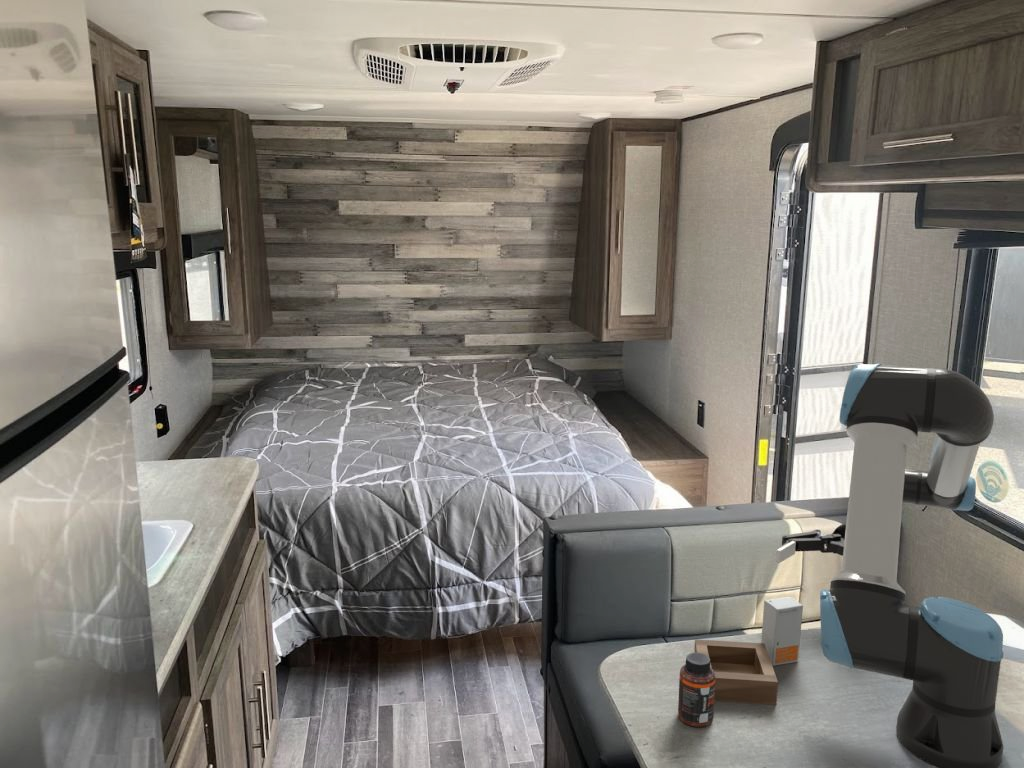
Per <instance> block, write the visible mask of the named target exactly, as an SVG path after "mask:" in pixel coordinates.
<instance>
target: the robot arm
mask: <svg viewBox="0 0 1024 768" xmlns="http://www.w3.org/2000/svg"><path fill="white" fill-rule="evenodd" d="M839 411H840V412H839V423H840V425H841V424H842V425H843V426H845V427H846V435H847V436H848V437H849V438H850V440H852V441H853V443H854V445H853V455H852V464H851V473H850V474H851V475H850V485H849V493H848V494H849V495H848V501H847V502H848V504H847V515H846V521H845V522H844V523H842V524H840V525H838V526H836V528H835V529H834V531H833V532H832V533H829V534H826V535H825V534H823V533H822V532H821V529H814V530H812V531H805V532H800V533H799V532H798V533H793V534H785V535H782V536H781V545H780V547H779V548H778V549H776V554H775V555H776V558H775V563H778V564H781V563H782V562H784V561H786V560H787V559H789V558H791V557H792V556H794V555H795V554H796V552H821V554H826V553H827V554H829V553H830V554H831V553H832V554H837V555H839V556H842V562H841V571H840V573H838V574H837V575H836V576H833V578H832V579H831V580H830V585H829V589H828V588H824V589H821V590H820V592H819V595H820V603H819V608H820V609H819V613H820V615H819V616H820V617H819V619H820V638H821V639H820V640H821V649H822V653H823V656H824V658H826V660H828V661H829V662H832V663H835V664H838V665H841V666H842V665H843V666H846V667H849V668H850V669H859V670H863V671H868V672H873V673H876V674H877V673H878V674H882V675H887V676H891V677H896V678H899V679H900V678H901V679H905V680H911V681H912V688H911V691H910V692H909V694H908V696H907V698H906V699H905V701H904V703H903V705H902V707H901V709H900V711H899V713H898V714H897V718H896V726H895V731H896V732H895V733H896V735H897V738H898V740H899V741H900V744H901V745H903V746H904V747H905V748H906V749H907V751H909V752H910V753H911V754H912V755H914V756H915V757H917V758H918V759H920V760H922V761H924V762H926V763H928V764H930V765H933V766H934V767H937V768H999V766H1001V764H1002V761H1003V754H1004V744H1003V743H1004V741H1003V739H1002V735H1001V732H1000V728H999V723H998V720H997V716H996V711H995V710H996V704H997V703H996V702H997V694H998V686H999V679H1000V670H1001V664H1002V663H1001V662H1002V661H1003V658H1004V652H1003V646H1004V645H1003V644H1004V633H1003V631H1002V628H1001V626H1000V624H999V623H998V622H997V621H996V620H995V619H994V618H993V617H992V616H991V615H990V614H988V613H986V612H984V611H983V610H982V609H980V608H978V607H977V606H974V605H972V604H970V603H967V602H964V601H962V600H958V599H954V598H950V597H945V596H936V597H933V596H929V597H927V598H924V599H923V600H922V602H921V603H919V606H917V605H910V604H906V596H907V595H906V591H905V590H904V589H903V588H902V587H901V586H900V584H899V583H898V580H897V579H898V578H897V577H898V576H897V575H898V565H899V551H900V550H899V549H900V539H901V526H902V525H901V524H902V512H903V504H907V505H909V504H910V505H917V506H924V507H931V508H938V509H939V508H940V509H943V510H944V509H945V510H950V511H964V512H965V511H966V512H969V511H971V510H972V509H973V508H974V506H975V501H976V491H977V490H976V489H977V483H976V480H975V478H973V477H972V476H971V473H972V470H973V468H974V463H975V461H976V457H977V455H978V451H979V448H980V446H981V443H983V442H984V441H986V440H987V438H989V436H990V434H991V432H992V430H993V426H994V420H995V418H994V409H993V406H992V404H991V401H990V399H989V397H988V396H987V394H986V393H985V392H984V390H983V389H982V388H981V387H980V386H979V385H978V384H976V383H975V382H974V381H973V380H971V379H970V378H969V377H967V376H965V375H964V374H963V373H962V374H961V373H959V372H957V371H955V370H952V369H949V368H941V367H934V368H933V367H920V366H907V365H892V364H882V363H876V364H874V363H873V364H871V363H870V364H866V363H865V364H863V363H861V364H860V363H859V364H857V365H854V367H852V368H851V370H850V372H849V374H848V377H847V381H846V383H845V388H844V391H843V395H842V401H841V407H840V410H839ZM918 433H934V434H935V436H934V442H933V446H932V451H931V455H930V460H929V465H928V470H926V471H925V470H917V469H910V468H909V469H908V468H906V465H907V464H906V461H907V450H908V448H909V447H910V446H912V445H913V444H915V443H916V442H917V441H918Z"/></svg>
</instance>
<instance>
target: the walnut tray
mask: <svg viewBox="0 0 1024 768" xmlns="http://www.w3.org/2000/svg"><path fill="white" fill-rule="evenodd" d="M695 652H696V653H703V654H705V655H707V656H708V657H709V658H710V667H711V668H712V669H713V671H714V672H715V696H714V702H715V701H716V702H728V703H729V702H730V703H743V704H746V703H747V704H759V705H774V706H775V705H776V706H777V704H778V703H777V702H778V685H779V681H778V678H777V676H776V672H775V669H774V666H772V664H771V661H770V658H769V655H768V652H767V650H766V647H765V644H764V643H761V642H750V641H749V642H748V641H747V642H746V641H731V640H730V641H729V640H715V639H697V638H695V639H694V652H693V653H695Z"/></svg>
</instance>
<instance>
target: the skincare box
mask: <svg viewBox="0 0 1024 768" xmlns="http://www.w3.org/2000/svg"><path fill="white" fill-rule="evenodd" d="M803 609H804V605H803V604H801V603H800V602H798V601H797V599H794V598H793V597H792V596H785V597H776V598H771V599H765V600H764V601H763V613H762V614H763V615H762V624H761V625H762V626H761V640H760V643H764V644H765V647H766V650H767V652H768V655H769V658H770V661H771V664H772V666H773V667H774V666H779V665H780V666H781V665H786V664H787V665H788V664H791V663H798V662H799V655H800V646H801V644H800V643H801V635H802V634H801V633H802V625H803V623H802V622H803Z"/></svg>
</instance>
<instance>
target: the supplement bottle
mask: <svg viewBox="0 0 1024 768" xmlns="http://www.w3.org/2000/svg"><path fill="white" fill-rule="evenodd" d="M678 679H679V680H678V681H679V682H678V683H679V684H678V705H677V706H678V707H677V715H678V717H679V719H680V721H681V722H683V723H684V724H685V725H688V726H691V727H696V728H703V727H707V726H709V725H711V723H712V722H713V720H714V713H715V712H714V711H715V701H714V696H715V672H714V671H713V669H712V668H711V667H710V658H709V657H708V656H707V655H705V654H703V653H696V652H695V653H694V652H690V653H688V654H687V655H686V657H685V663H684V664H683V665H682V666H681V668H680V670H679V678H678Z"/></svg>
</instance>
